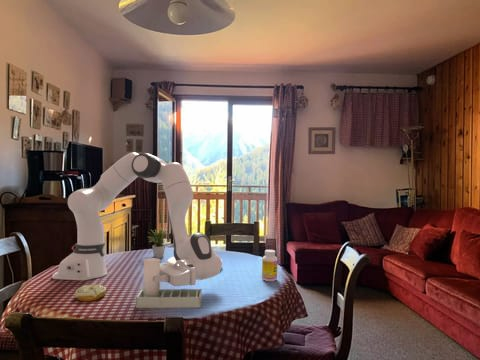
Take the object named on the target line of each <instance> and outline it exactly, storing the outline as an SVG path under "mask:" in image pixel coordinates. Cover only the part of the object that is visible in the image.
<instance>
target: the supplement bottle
mask: <svg viewBox="0 0 480 360" xmlns="http://www.w3.org/2000/svg"><path fill="white" fill-rule="evenodd" d="M261 261H262V270H261V278H262V279H261V280H262V281H264V280H265V281H264V282H276V281H277V279H278V257H277V256H276V250H274V249H265V250H264V255H263V257H262V258H261ZM275 280H276V281H275Z"/></svg>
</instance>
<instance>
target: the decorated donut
mask: <svg viewBox="0 0 480 360" xmlns="http://www.w3.org/2000/svg"><path fill="white" fill-rule="evenodd" d="M106 292H107V288H106V287H105V286H104V285H101V284H86V285H83V286H80V287H78V288H77V289H76V290H75V292H74V297H75V299H78V300H79V301H80V302H86V301H88V302H93V300H94V301H97V299H98V300H100V299H102V298H103V297H104V296H105V295H106ZM101 297H102V298H101ZM99 298H100V299H99Z"/></svg>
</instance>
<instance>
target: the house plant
mask: <svg viewBox="0 0 480 360" xmlns="http://www.w3.org/2000/svg"><path fill="white" fill-rule="evenodd" d="M148 229H149V228H148ZM149 230H150V231H151V232H152V233H151V232H148V234H149V235H150V236H147V238H149V239H148V240H149V241H148V243H151V242H152V243H154V244H153V245H152V248H151V249H152V254H153V258H158V259H161V258H164V256H165V249H166V244H164V243H165V241H166V240H167V239H171V238H170V237H167V238H165V237H166V236H167V234H166V233H167V232H166V231H167V230H163V228H162V227H160V228H159V230H158V232H157V230H156V229H154V230H152V229H149ZM154 231H155V232H154ZM164 238H165V239H164Z"/></svg>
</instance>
